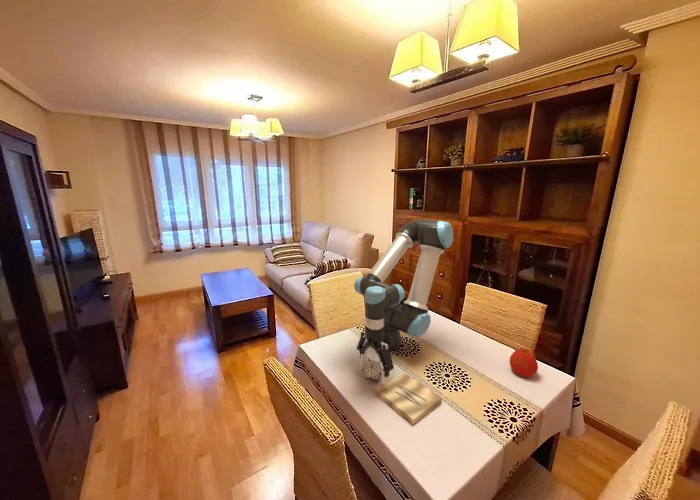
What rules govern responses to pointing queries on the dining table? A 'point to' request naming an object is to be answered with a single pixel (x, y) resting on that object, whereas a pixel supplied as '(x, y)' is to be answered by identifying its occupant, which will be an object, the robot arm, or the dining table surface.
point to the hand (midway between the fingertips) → (373, 374)
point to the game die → (373, 370)
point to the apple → (523, 362)
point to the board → (408, 397)
